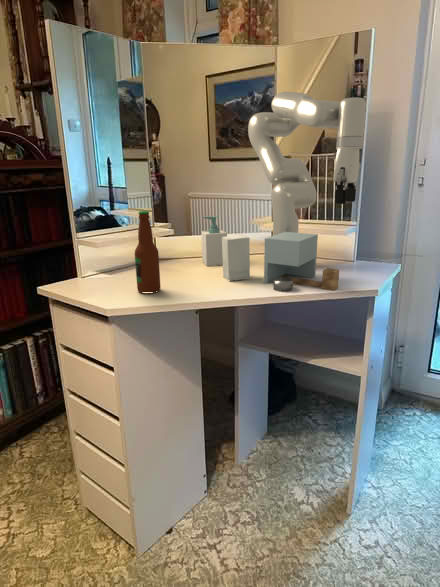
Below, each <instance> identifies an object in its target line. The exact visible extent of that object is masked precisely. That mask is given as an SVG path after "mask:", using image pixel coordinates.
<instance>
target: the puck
mask: <svg viewBox="0 0 440 587" xmlns="http://www.w3.org/2000/svg"><path fill="white" fill-rule="evenodd" d="M293 286H294V284H293V280H292V279H288V278H280V277H278V278H277V279H274V280H273V286H272V287H273V291H274V292H275V291H276V292H279V293H280V292H281V293H286V292H287V293H288V292H291V291H293Z"/></svg>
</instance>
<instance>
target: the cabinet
mask: <svg viewBox="0 0 440 587" xmlns="http://www.w3.org/2000/svg"><path fill="white" fill-rule="evenodd" d="M318 239H319V236H318V234H316V233H304V232H298V233H293V232H284V233H280V234H277V235H274V236H273V235H271V236H269V237H265V238H264V254H265V256H264V255H263V259H264V260H263V261H264V263H263V267H264V269H263V272H264V274H263V283H264V284H268V283H271V282H272V281H273V282H274V279H277V278H280V277H281V276H284V275H293V276H298V277H299V276H300V277H308V278H313V279H314V278H316V277H317V276H316V274H317V271H316V270H317V257H318V256H317V255H318V254H317V253H318Z"/></svg>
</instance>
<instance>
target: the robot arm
mask: <svg viewBox="0 0 440 587" xmlns="http://www.w3.org/2000/svg"><path fill="white" fill-rule="evenodd" d="M366 108H367V101H366V99H365V98H362V97H348V98H347V97H346V98H344V99H342V100H340V101H334V100H321V99H314V98H313V96H311V95H308V94H307V93H303V92H294V91H281V92H278V93H277V94H276V95H275V96H274V97H273V98H272V100H271V110H272V112H268V111H267V112H265V111H263V112H257V113H255V114H253V115H252V116H251V118H250V119H249V121H248V127H247V128H248V129H247V132H248V139H249V141H250V143H251V147H252V148H253V150H254V151H255V153H256V155H257V156H258V158H259V161H260V165H261V167H262V169H263V172H264V174H265V176H266V178H267V180H268V182H269V183H270V184H272V185H275V186H274V187H273V188H272V189H271V193H270V194H271V195H270V200H271V205H272V206H271V207H272V213H273V216H272V220H273V221H272V232H273V233H272V236H274V235H277V234H280V233H284V232H293V233H299V228H300V227H299V216H298V215H297V212H296V210H295V209H303V208H309V207H311V206H313V205H314V204H315V203H316V201H317V200H316V199H317V189H316V187H315V184H314V181H313V179H312V176H311V175H310V172H309V169H308V168H307V166H306V164H305V163H304V161H302V160H301V159H299V158H295V157H294V158H291V157H290V158H287V157H284V155H283V154H282V152H281V148H280V147H279V145H278V144H277V143H276V141H274V140H273V139H272V138H271V137H275V138H276V137H277V138H284V137H289V136H290V135H291V134H293V133H294V132H295V131H296V129H297V128H299V126H300V125H304V126H308V127H312V128H321V129H324V128H325V129H337V130H336V134H337V135H336V144H335V145H336V147H335V149H336V150H337V151H336V155H335V161H334V162H335V163H334V171H333V179H332V180H333V183H334V184H335V185H336V186H335V193H334V194H335V196H334V204H335V205H346V203H347V202H350V203H351V202H356V195H357V194H356V193H357V181H358V180H359V179H358V178H359V170H360V168H359V167H360V150H362V149H363V146H364V133H365V122H366V121H365V120H366V110H367V109H366ZM263 254H264V255H263V257H264V256H265V253H263Z"/></svg>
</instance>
